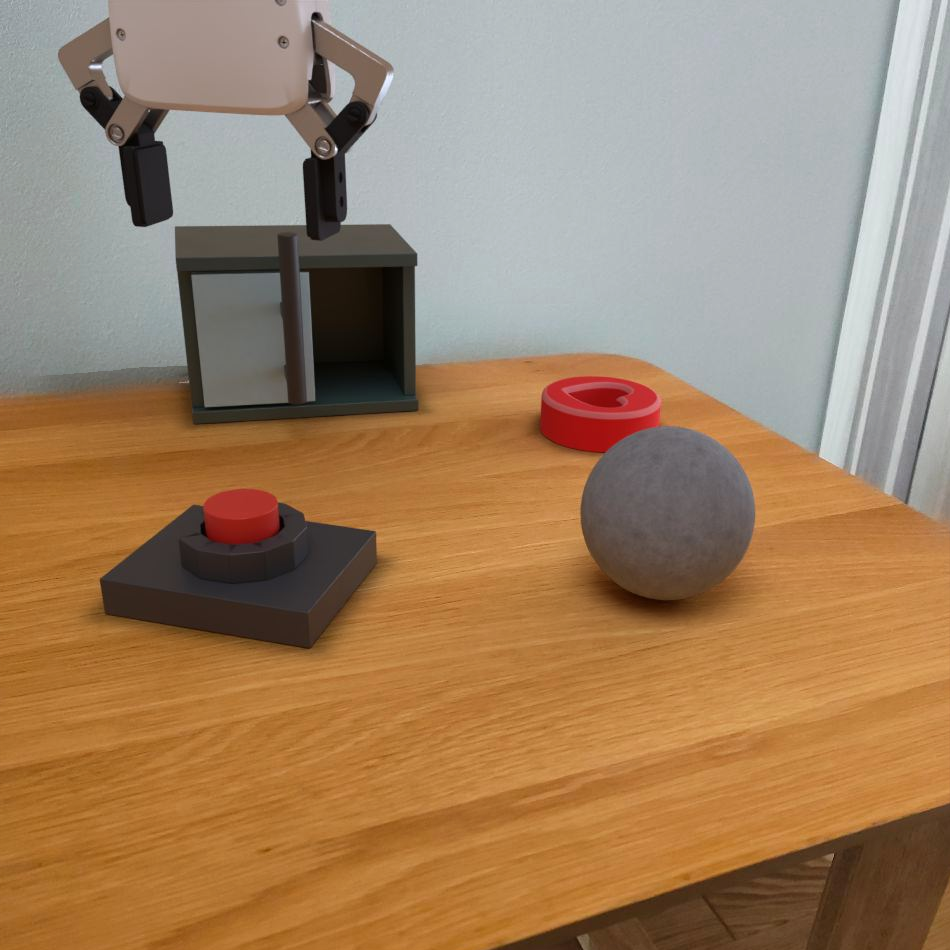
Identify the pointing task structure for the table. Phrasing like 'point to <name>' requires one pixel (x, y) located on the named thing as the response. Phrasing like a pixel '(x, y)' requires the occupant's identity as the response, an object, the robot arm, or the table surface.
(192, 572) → the button box
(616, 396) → the decorative ornament
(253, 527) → the button
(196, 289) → the glass door
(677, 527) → the decorative ball
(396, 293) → the cabinet
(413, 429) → the table surface
